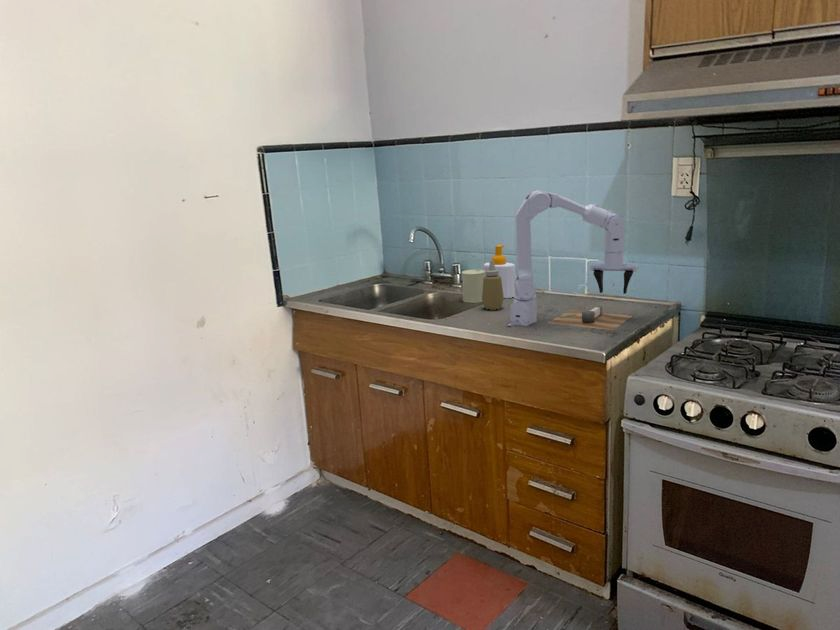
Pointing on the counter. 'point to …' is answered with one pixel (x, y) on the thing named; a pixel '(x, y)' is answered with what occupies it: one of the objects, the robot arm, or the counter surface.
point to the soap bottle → (503, 272)
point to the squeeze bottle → (492, 289)
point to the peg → (591, 314)
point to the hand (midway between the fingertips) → (613, 292)
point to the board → (600, 322)
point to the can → (472, 285)
